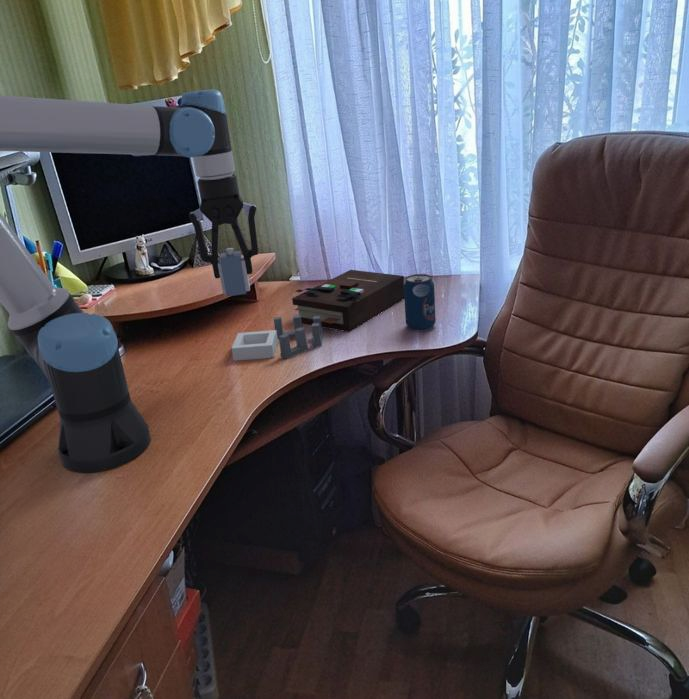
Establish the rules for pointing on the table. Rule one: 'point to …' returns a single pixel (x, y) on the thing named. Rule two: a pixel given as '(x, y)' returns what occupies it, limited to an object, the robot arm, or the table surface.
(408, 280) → the soda can
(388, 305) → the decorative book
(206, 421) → the table surface
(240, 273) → the connector
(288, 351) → the clip
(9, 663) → the table surface
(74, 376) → the robot arm
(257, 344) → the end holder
